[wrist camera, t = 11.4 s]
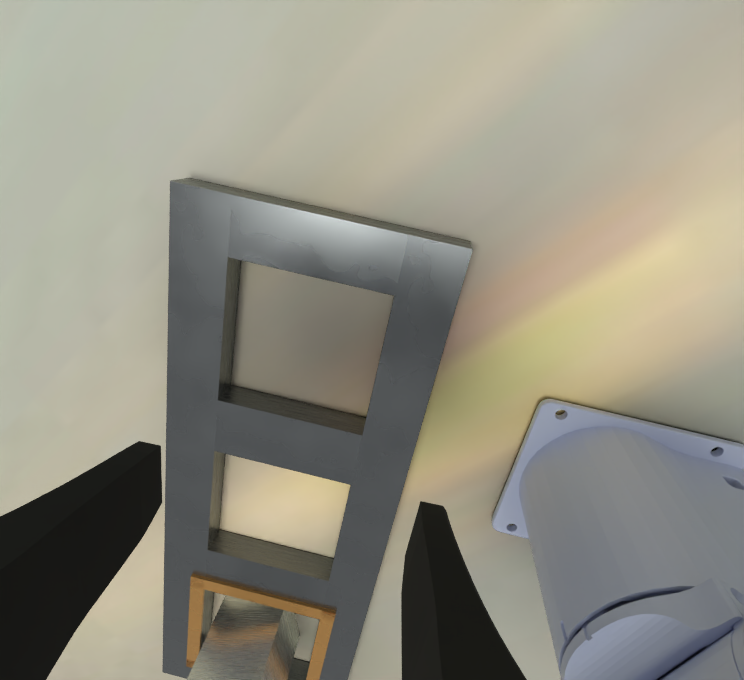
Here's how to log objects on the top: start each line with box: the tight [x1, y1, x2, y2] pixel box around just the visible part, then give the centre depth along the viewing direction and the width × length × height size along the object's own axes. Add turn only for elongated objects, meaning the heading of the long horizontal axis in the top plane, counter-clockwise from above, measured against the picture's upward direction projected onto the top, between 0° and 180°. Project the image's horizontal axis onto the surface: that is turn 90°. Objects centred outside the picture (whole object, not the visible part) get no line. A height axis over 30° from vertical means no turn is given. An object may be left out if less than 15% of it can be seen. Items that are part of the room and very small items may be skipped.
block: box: [187, 595, 300, 680], centre depth 27 cm, size 4×4×7 cm
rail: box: [163, 178, 473, 680], centre depth 25 cm, size 12×32×2 cm, turn 169°
